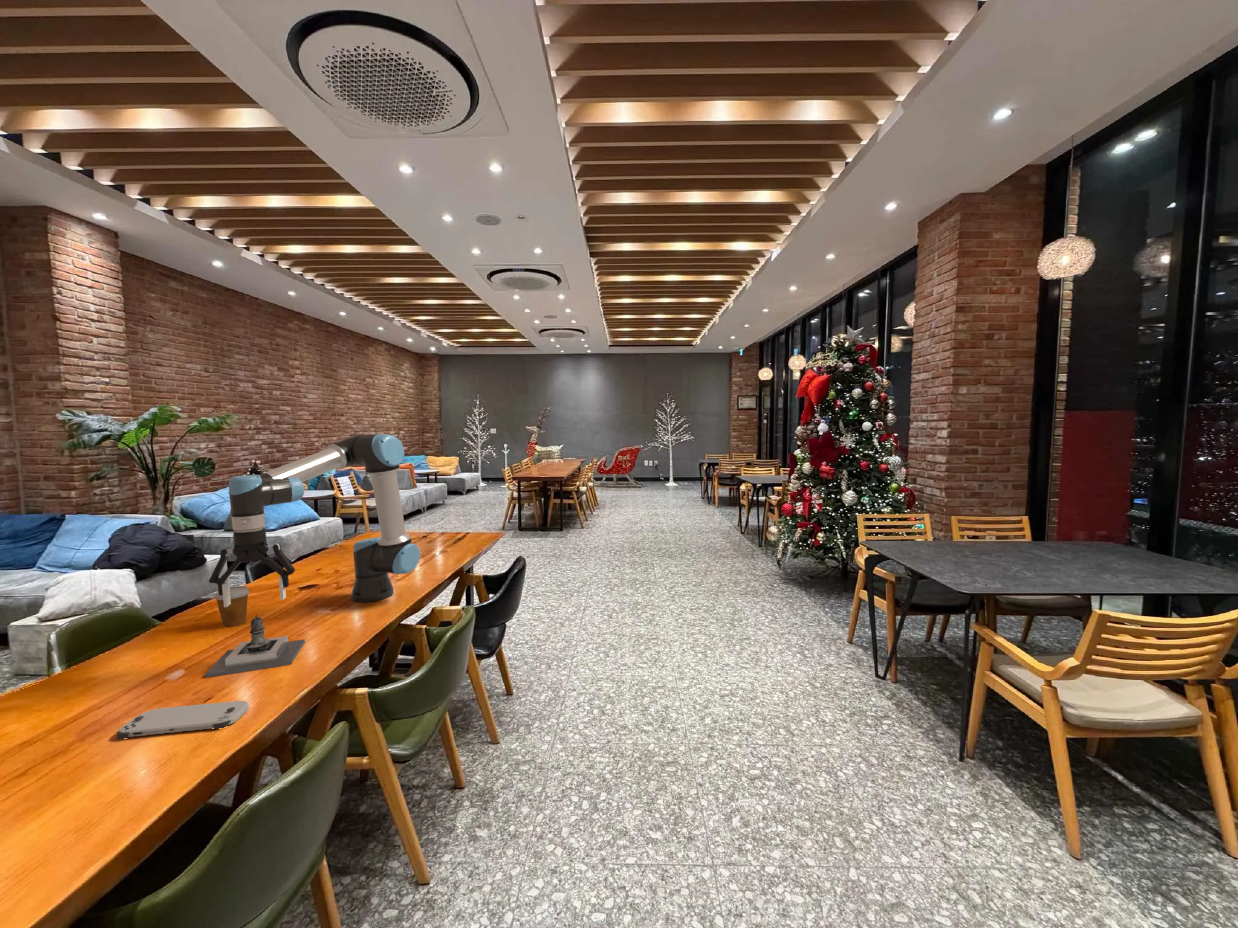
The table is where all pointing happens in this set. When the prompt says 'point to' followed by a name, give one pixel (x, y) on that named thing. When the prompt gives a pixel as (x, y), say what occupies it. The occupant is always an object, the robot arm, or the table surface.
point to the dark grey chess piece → (257, 636)
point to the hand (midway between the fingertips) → (255, 602)
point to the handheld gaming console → (184, 719)
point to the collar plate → (279, 662)
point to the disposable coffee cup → (234, 606)
